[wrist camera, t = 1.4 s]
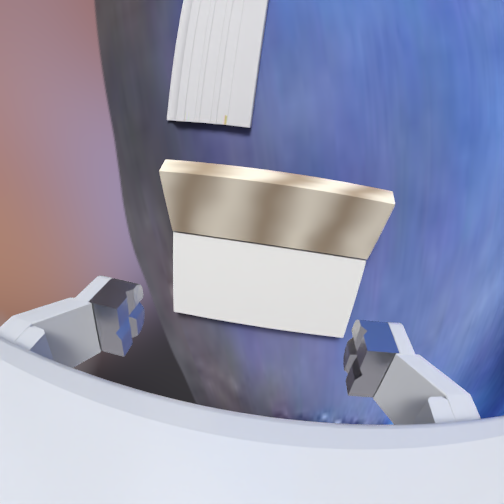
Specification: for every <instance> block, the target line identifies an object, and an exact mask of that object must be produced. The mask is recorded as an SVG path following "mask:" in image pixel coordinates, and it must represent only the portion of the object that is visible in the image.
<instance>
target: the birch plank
mask: <svg viewBox="0 0 504 504" xmlns="http://www.w3.org/2000/svg"><path fill="white" fill-rule="evenodd" d="M159 173H160V178H161V182H162V187H163V191H164V196H165V200H166V205H167V209H168V213H169V217H170V222H171V226H172V230H173V231H179V232H186V233H193V234H200V235H207V236H214V237H221V238H228V239H235V240H241V241H248V242H255V243H262V244H269V245H275V246H282V247H289V248H295V249H302V250H309V251H315V252H322V253H328V254H335V255H342V256H348V257H355V258H361V259H368V257H369V255H370V253H371V252H372V250H373V248H374V246H375V244H376V242H377V240H378V238H379V236H380V234H381V232H382V230H383V228H384V226H385V224H386V222H387V220H388V218H389V216H390V214H391V212H392V210H393V208H394V206H395V201H394V196H393V192H392V191H388V190H383V189H378V188H373V187H368V186H363V185H357V184H352V183H347V182H341V181H335V180H330V179H324V178H318V177H311V176H305V175H299V174H292V173H285V172H278V171H271V170H263V169H256V168H248V167H239V166H230V165H221V164H212V163H201V162H190V161H179V160H166V159H165V161H164V163H163V165H162V167H161V168H160V170H159Z"/></svg>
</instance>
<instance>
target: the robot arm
mask: <svg viewBox="0 0 504 504" xmlns="http://www.w3.org/2000/svg"><path fill="white" fill-rule="evenodd" d="M142 298H143V291H142V287H141V285H140V284H136V283H131V282H127V281H123V280H118V279H113V278H110V277H105V276H98V277H97V278H96V279H95V280H93V281H92V282H91V283H90V284H89V285H88V286H87V287H86V288H85V289H84V290H83V291H82V292H81V293H80V294H79V295H78V296H77V297H75V298H68V299H64V300H61V301H58V302H55V303H52V304H49V305H45V306H42V307H39V308H36V309H33V310H30V311H27V312H24V313H20V314H17V315H14V316H12V317H11V318H10V319H9V320H7V321H6V322H5V323H4V324H3V325H2V326H1V327H0V504H504V416H498V417H491V418H483V419H481V418H480V416H479V413H478V411H477V409H476V406H475V404H474V402H473V400H472V397H471V395H470V394H469V393H468V392H466V391H465V390H464V389H463V388H461V387H460V386H459V385H457V384H456V383H455V382H454V381H452V380H451V379H450V378H449V377H447V376H446V375H445V374H443V373H442V372H441V371H440V370H438V369H437V368H436V367H434V366H433V365H432V364H431V363H429V362H428V361H427V360H425V359H424V358H423V357H421V356H420V355H415V352H414V350H413V348H412V345H411V343H410V341H409V338H408V336H407V334H406V332H405V329H404V327H403V325H402V324H401V323H392V322H377V321H366V320H356V321H355V323H354V325H353V328H352V334H353V338H352V339H350V340H349V341H348V342H347V345H346V348H345V353H344V370H345V371H346V372H347V373H348V376H347V378H346V385H347V392H348V395H350V396H362V397H374V398H373V399H374V400H375V401H376V403H377V404H378V405H379V406H380V408H381V409H382V410H383V411H384V413H385V414H386V415H387V416H388V417H389V419H390V420H391V421H392V422H393V424H394V425H362V424H339V423H323V422H311V421H300V420H291V419H282V418H274V417H267V416H260V415H253V414H246V413H240V412H234V411H228V410H223V409H218V408H212V407H207V406H203V405H198V404H193V403H189V402H184V401H180V400H176V399H171V398H167V397H163V396H160V395H156V394H152V393H148V392H144V391H141V390H138V389H134V388H131V387H127V386H124V385H121V384H118V383H114V382H111V381H108V380H105V379H102V378H99V377H96V376H93V375H90V374H88V373H85V372H82V371H79V370H77V369H74V368H73V367H75V366H77V365H79V364H80V363H82V362H84V361H86V360H87V359H89V358H91V357H93V356H94V355H96V354H97V353H100V352H101V351H105V352H109V353H112V354H116V355H120V356H125V355H126V353H127V351H128V350H129V348H130V347H131V345H132V338H133V337H135V336H137V335H138V334H139V333H140V331H141V329H142V325H143V323H144V308H143V306H142V305H141V304H140V300H141V299H142Z"/></svg>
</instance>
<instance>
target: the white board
mask: <svg viewBox="0 0 504 504" xmlns="http://www.w3.org/2000/svg"><path fill="white" fill-rule="evenodd" d="M365 263H366V259H361V258H355V257H348V256H342V255H335V254H328V253H322V252H315V251H309V250H302V249H295V248H289V247H282V246H275V245H269V244H262V243H255V242H248V241H241V240H235V239H228V238H221V237H214V236H207V235H200V234H193V233H186V232H179V231H174V232H173V296H174V312H179V313H184V314H189V315H194V316H200V317H205V318H211V319H216V320H222V321H228V322H234V323H240V324H246V325H252V326H258V327H265V328H271V329H278V330H285V331H292V332H300V333H307V334H315V335H323V336H332V337H341V338H343V336H344V333H345V330H346V327H347V324H348V321H349V318H350V315H351V311H352V308H353V305H354V302H355V298H356V295H357V292H358V288H359V285H360V281H361V278H362V274H363V271H364V267H365Z"/></svg>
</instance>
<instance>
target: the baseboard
mask: <svg viewBox="0 0 504 504" xmlns="http://www.w3.org/2000/svg"><path fill="white" fill-rule="evenodd" d="M268 1H269V0H183V5H182V11H181V17H180V22H179V28H178V35H177V41H176V48H175V55H174V62H173V69H172V77H171V85H170V94H169V103H168V113H167V120H173V121H186V122H200V123H211V124H222V125H231V126H240V127H248V128H251V124H252V116H253V109H254V101H255V94H256V86H257V79H258V71H259V64H260V57H261V50H262V43H263V36H264V29H265V22H266V15H267V8H268Z"/></svg>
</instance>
